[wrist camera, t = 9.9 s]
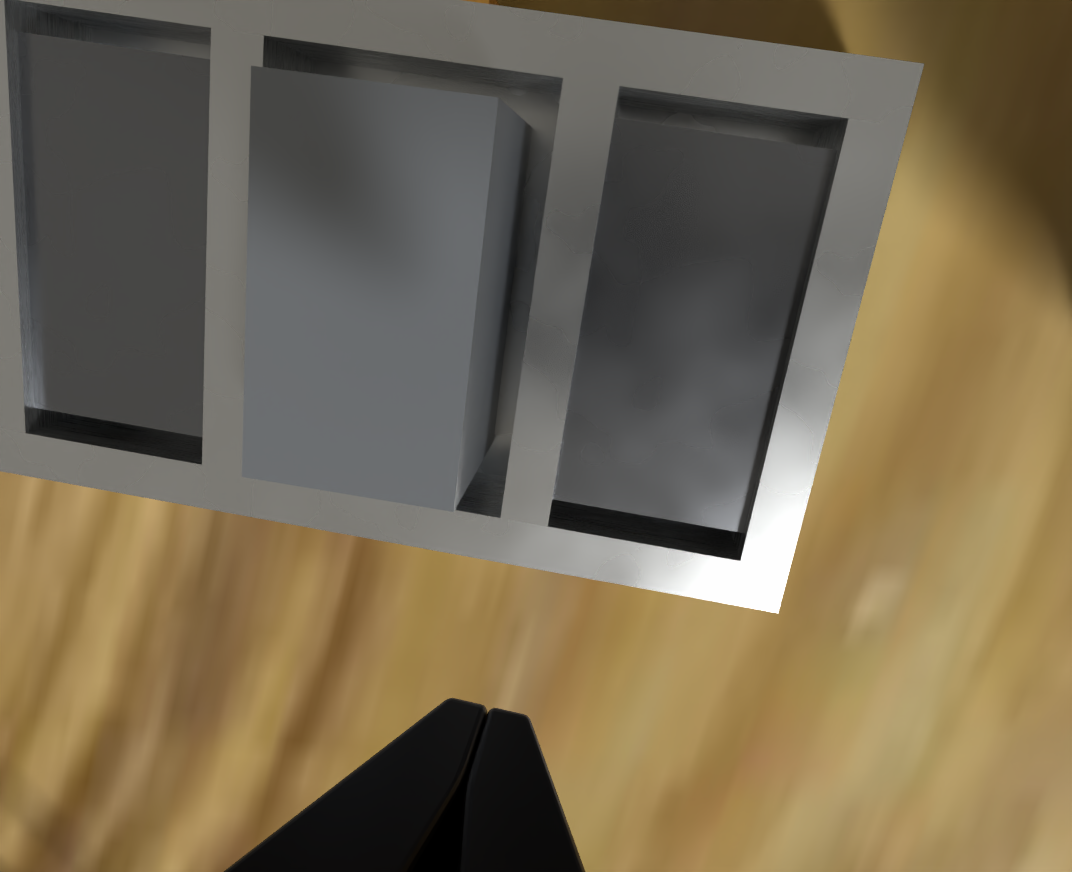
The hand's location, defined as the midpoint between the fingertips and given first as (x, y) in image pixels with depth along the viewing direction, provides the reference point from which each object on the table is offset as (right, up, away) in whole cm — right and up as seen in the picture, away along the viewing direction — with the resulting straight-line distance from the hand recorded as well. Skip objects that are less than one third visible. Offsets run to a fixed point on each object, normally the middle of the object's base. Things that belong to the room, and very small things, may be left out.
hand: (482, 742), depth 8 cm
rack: (-2, +7, +11) cm, 13 cm away
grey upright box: (-2, +7, +10) cm, 12 cm away
